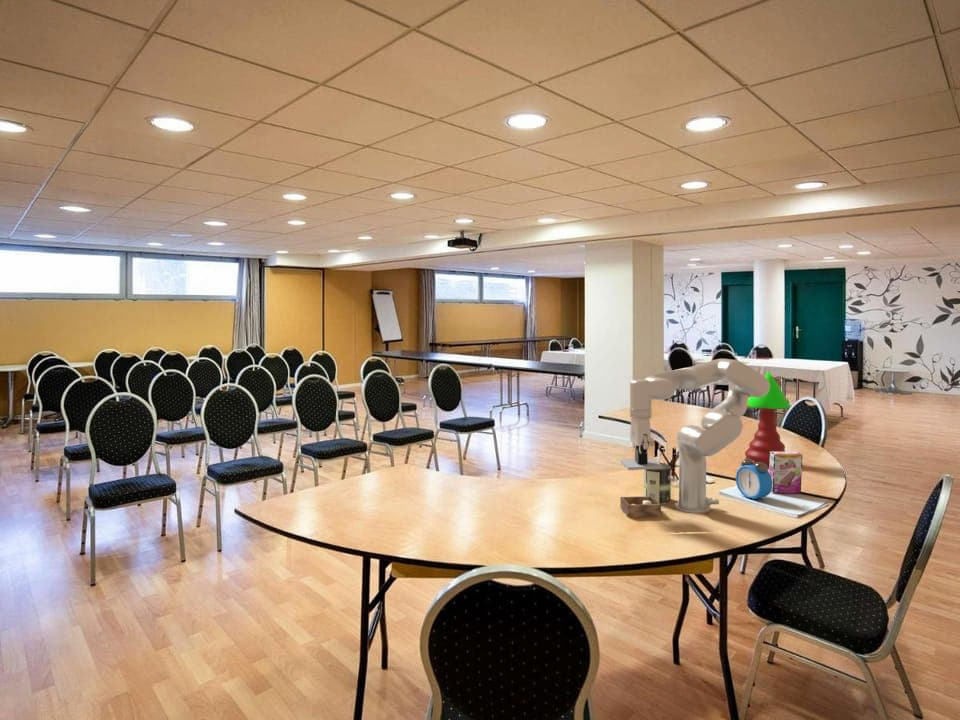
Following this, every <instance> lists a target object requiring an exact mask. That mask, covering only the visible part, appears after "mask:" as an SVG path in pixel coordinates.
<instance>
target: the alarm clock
mask: <svg viewBox="0 0 960 720" xmlns="http://www.w3.org/2000/svg"><path fill="white" fill-rule="evenodd" d="M744 459H745V458H744ZM744 459H743V460H742V461H741V462H740V467H739V468H738V470H737V472H736V474H735V485H736V487H737V489H738V490H739V492H740V494H742V495H744V496H743V497H745V496H746V497H745V498H747V497H749V498H752V499H751V500H755V499H757V500H758V499H761V498H766V497H768V496H769V495H770V494H771V493H772V492H771V490H772V478H771V475H770V473H769V468H768V467H767V465H766V464H765V463H762V462H758V463H756V464H753V463H755V462H754V461H753V460H751V459H745V460H744ZM750 464H751V465H750ZM749 498H748V499H749Z"/></svg>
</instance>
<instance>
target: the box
mask: <svg viewBox="0 0 960 720" xmlns="http://www.w3.org/2000/svg"><path fill="white" fill-rule="evenodd" d="M619 500H620V508H621V509H622V510H621V509H620V510H621V511H622V512H623V513H624V515H625V514H626V515H625V516H626V517H627V518H628V517H630V519H633V518H656V517H657V518H658V517H659V518H660V517H662V504H660V503H659V502H658V501H657V500H656V499H655V498H653V497H652V496H644V495H642V496H641V495H640V496H620V499H619ZM644 500H648V501H651V504H643V501H644ZM631 504H636V505H631Z"/></svg>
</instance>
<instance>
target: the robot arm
mask: <svg viewBox="0 0 960 720" xmlns="http://www.w3.org/2000/svg"><path fill="white" fill-rule="evenodd" d="M721 382H724V383H728V390H727V391H728V392H727V396H726V397H725V399H723V400H722V401H721V402H720V403H718V404H717V405H716V406H715V407H713V408H712V409H711V410H709V411H708V412H706V413H705V414H704V416H703V417H702V418H701V427H700V426H699V425H693V424H688V425H685V426H682V427H681V428H680V429H679V431H678V432H677V437H676V439H677V440H676V441H677V442H676V444H677V448H678V460H679V461H678V462H679V468H678V472H679V473H678V476H679V477H678V478H679V479H678V482H679V483H678V501H676V502H675V503H674V508H676V509H677V510H678V511H681V512H685V513H691V514H692V513H693V514H707V513H710V511H711V505H719V504H720V501H719V499H718V498H715V499H714V498H713V497H707V458H706V457H712V456H715V455H717V454H718V453H719V452H721V451H722V450H723V449H725V448H726V447H727V446H729V445H730V444H731V443H733V442H734V441H735V440H736V439H737V438H738V437H740V435H741V434H742V432H743V428H744V427H743V425H744V424H743V421H742V419H741V418H742V417H743V416H744V415H745V413H746V411H747V408H748V407H747V403H748V400H749V397H750V396H751V397H756V398H759V397H763V396H765V395H766V394H767V393H768V392H769V389H770V383H769V381H768V379H767V378H766V377H765V375H764V374H763V373H761V372H759V371H757V370H755V369H754V368H752V367H751V366H749V365H747V364H745V362H744V363H743V361H741V360H740V361H739V360H737V359H731V358H730V359H729V358H717V359H712V360H710V361H706V362H703V363H699V364H697V365H693V366H692V365H691V366H688V367H683V368H678V369H674V370H668V371H666V370H665V371H662V372H658V373H655V374H652V375H649V376H647V377H646V378H644V379H643V378H639V379H638V378H637V379H632V380H631V381H630V383H629V410H630V412H629V413H630V415H629V417H630V418H631V419H630V433H629V434H630V436H629V437H630V438H629V440H630V442H631V443H633V444H634V450H635V449H639V454H638V464H639V465H644V464H648V459H649V458H648V453H649V451H648V450H649V446H650V445H651V443H652V442H651V441H652V440H651V422H650V419H652V413H653V412H652V410H653V409H652V399H654V400H668V399H671V397H673V396H674V395H675V392H676V390H688V391H689V390H698V389H702V388H704V387H705V388H706V387H708V386H709V387H710V386H712V385H715V384H719V383H721ZM634 460H635V461H636V456H635V455H634Z"/></svg>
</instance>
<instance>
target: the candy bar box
mask: <svg viewBox="0 0 960 720" xmlns="http://www.w3.org/2000/svg"><path fill="white" fill-rule="evenodd" d="M802 471H803V454H802V453H800V452H798V451H785V452H770V466H769V468H768V472H769V473H770V475H771V478H772V490H771V492H770V493H772V492H773V493H772V494H786V493H787V494H791V495H794V494H799V495H801V494H802V477H803V475H802V474H803V473H802Z"/></svg>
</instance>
